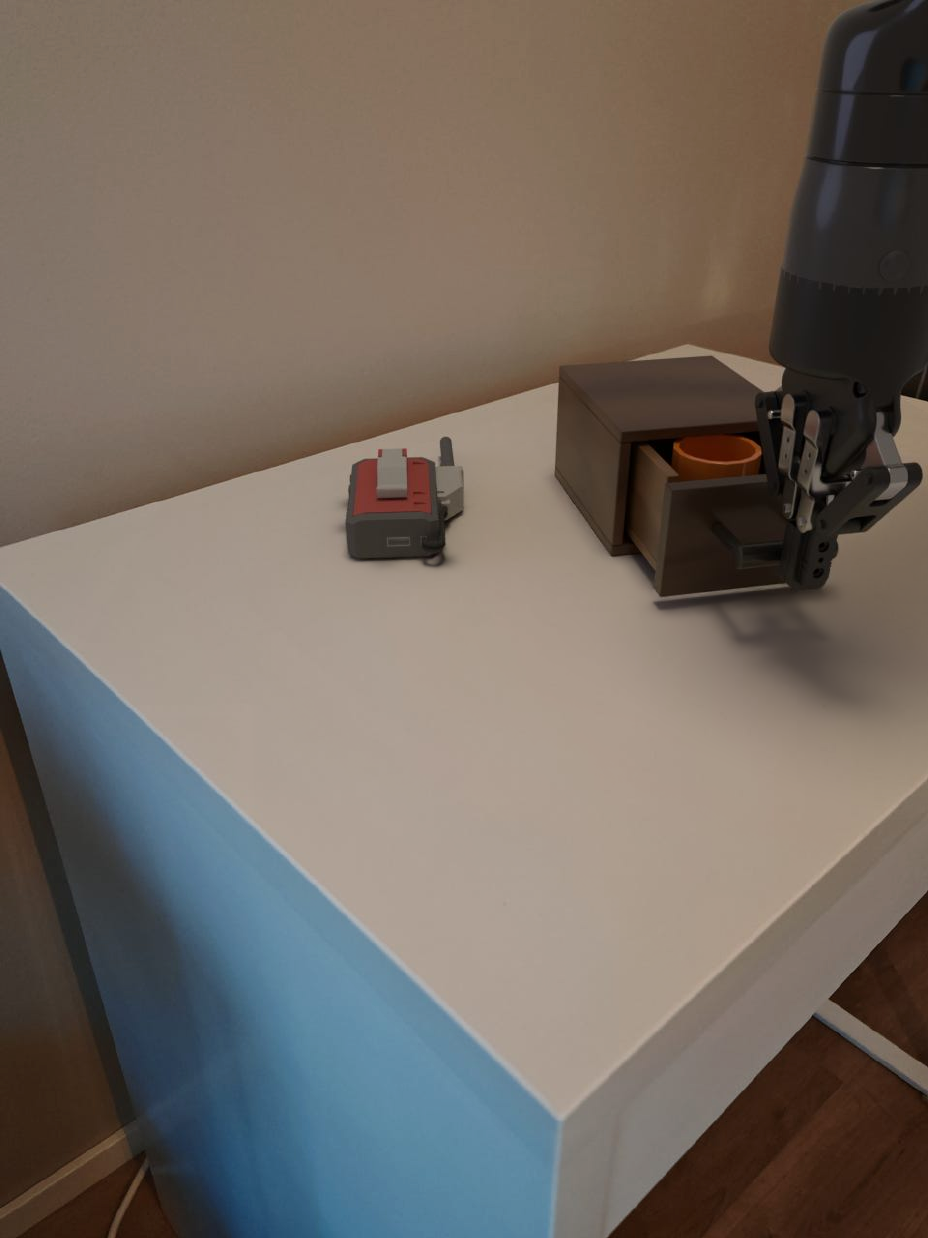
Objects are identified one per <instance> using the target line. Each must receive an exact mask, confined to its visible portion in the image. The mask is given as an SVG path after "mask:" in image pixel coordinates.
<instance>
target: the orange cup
mask: <svg viewBox="0 0 928 1238" xmlns="http://www.w3.org/2000/svg"><path fill="white" fill-rule="evenodd" d="M761 456H762V452H761V447H760V446H759V445H758V444H756V443H755V442H754V441H752V440H750V439H747V438H744V437H742V436H738V435H733V434H721V435H709V436H697V437H685V438H678V439H676V440H675V441H674V442H673V451H672V460H671V468H672V469H673V470H674V471H675V472H676V473H677V474H678V475H679V481H678V482H684V481H695V480H706V479H717V478H728V477H739V476H750V475H758V474H759V468H760V462H761Z"/></svg>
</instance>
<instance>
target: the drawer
mask: <svg viewBox="0 0 928 1238" xmlns="http://www.w3.org/2000/svg"><path fill="white" fill-rule="evenodd" d="M733 435H738V436H742V437H744V438H747V439H750V440H752V441H754V442H755V443H756V444H758V445H759V446H760V447H761V452H762V446H761V440H760V434H759V431H758V432H745V433H733ZM676 439H678V438H673V439H661V440H649V441H637V442H631V453H630V465H629V476H628V488H627V499H626V510H625V522H624V530H625V532H626V533H627V534H628V536H629V537H630V538H631V540H632V541H633V542H634V544H635V545H636V546H637V548H638V549H639V550H640V551H641V553H640V554H642V556H643V557H644V559H645V560H646V561H647V562H648V564H649V565H650V566H651V567H652V569H653V571H654V572H655V574H654V582H653V589H654V591H655V592H656V594H657V595H658V596H659V598H665V597H674V596H675V597H676V596H684V595H693V594H701V593H711V592H720V591H728V590H729V591H730V590H738V589H747V588H748V589H749V588H756V587H764V586H775V585H784V584H786V583H785V582H784V581H783V580H782V579H781V578H780V577H779V575H778V571H779V565H780V560H781V552H782V548H783V547H782V546H783V542H784V536H785V530H786V525H787V519H785V518H784V517H783V514H782V510H781V504H782V497H781V495H778V496H773V495H771V493H770V491H769V488H768V482H767V476H766V470H765V464H764V458H763V452H762V456H761V462H760V468H759V474H758V475H750V476H739V477H728V478H717V479H706V480H695V481H684V482H678V481H679V475H678V474H677V473H676V472H675V471H674V470H673V469H672V468H671V460H672V451H673V442H674V441H675V440H676ZM839 548H840V547H839V541H838V540H837V541H836V546H835V551H834V555H833V560H834V559H836V558H837V556H838V554H839Z"/></svg>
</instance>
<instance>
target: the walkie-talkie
mask: <svg viewBox="0 0 928 1238" xmlns="http://www.w3.org/2000/svg"><path fill="white" fill-rule="evenodd" d="M439 450H440V461H441V463H440V464H441V465H440V466H439V465H438V466H436V462H435V461H433V460H431V459H428V458H426V457H423V456H414V457H413V456H411V457H408V449H407V448H405V447H404V448H378V449H377V458H376V457H374V458H372V457H371V458H363V459H361V460H359V461H357V462H355V463H353V464H352V465H351V471H350V474H349V484H348V487H347V493H348V498H347V507H346V515H345V534H346V544H347V554H349V555H351V556H353V557H355V558H356V559H361V560H366V559H396V558H397V559H398V558H399V559H400V558H427V557H430V556H432V555H434V554H436V553H439V552H441V551H443V550H444V549H445V547H446V530H445V521H447V520H449V519H450V518H452V517H454V516H455V515H456V514H457V515H458V513H460V512H461V511H463V509H464V508H465V506H464V505H465V503H464V500H465V499H464V498H465V496H464V495H465V494H464V493H465V491H464V490H465V489H464V488H465V486H464V485H465V484H464V483H465V481H464V480H465V478H464V477H465V475H464V474H465V473H464V467H463V466H462V465H455V459H454V458H455V457H454V450H453V442H452V439H451V438H450V437H449V436H442V437H441V438H440V440H439Z"/></svg>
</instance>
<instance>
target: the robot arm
mask: <svg viewBox="0 0 928 1238" xmlns="http://www.w3.org/2000/svg"><path fill="white" fill-rule="evenodd" d="M817 70H818V71H817V75H816V80H815V81H816V82H815V86H814V87H815V89H814V93H813V100H812V105H811V106H812V107H811V112H810V118H809V125H808V131H807V138H806V144H805V149H804V153H805V156H804V157H803V161H802V164H801V165H802V166H801V170H800V173H799V176H798V180H797V184H796V187H795V191H794V193H793V198H792V201H791V205H790V210H789V215H788V221H787V228H786V232H785V233H786V234H785V238H784V239H785V240H784V246H783V252H782V257H781V258H782V259H781V265H780V271H779V276H778V277H779V278H778V285H777V290H776V296H775V301H774V309H773V315H772V322H771V327H770V333H769V340H768V351H769V354H770V356H771V358H772V359H773V360H774V361H775V362H776V363H777V364H778V365H780V366H781V367H783V368H784V370H783V372H782V376H781V386H779V387H778V388H777V389H776V390H775V389H774V390H771V391H764V392H759V393H758V394H757V395H756V397H755V410H756V416H757V422H758V428H759V434H760V440H761V446H762V452H763V458H764V464H765V470H766V476H767V482H768V488H769V491H770V493H771V495H773V496H778V495H781V497H782V504H781V510H782V514H783V517H784V518H785V519H787V525H786V530H785V536H784V542H783V546H782V547H783V548H782V552H781V560H780V565H779V571H778V575H779V577H780V578H781V579H782V580H783V581H784V582H785V583H784V584H785V585H786V586H787V587H788V588H790V590H791V591H794V592H801V591H802V592H803V591H811V590H818V589H821V588H822V587H824V586H825V585H826V584H827V581H828V580H829V578H830V574H831V568H832V563H833V560H834V559H833V555H834V551H835V546H836V541H837V542H838V537H839V536H841V535H850V534H851V535H852V534H860V533H866V532H868V531H869V530H870V529H872V528H873V527H874V526H875V525H876V524H878V522H879V521H880V520H882V519H883V518H885V516H887V514H889V513H890V512H891V511H893V509H894V508H895V507H897V506H898V505H899V504H900V503H901V502H902V501H904V500H905V499H906V498H907V497H908V496H910V495H911V494H912V493H913V492H914V491H916V489H918V488H919V487H920V485H921V484H922V483H923V482H922V481H923V478H924V477H923V476H924V473H923V468H922V466H921V464H919V463H918V462H916V461H914V462H913V461H912V462H903V461H902V458H901V455H900V453H899V450H898V447H897V444H896V442H895V439H894V438H895V437H896V436H897V434H898V432H899V430H900V427H901V423H902V410H901V397H902V389H903V388H904V386H905V385H906V384H907V383H908V381H910V380H911V379H912V378H913V377H914V376H916V375H918V374H920V373H921V372H922V371H923V370H924V369H925V368H926V367H927V365H928V0H868V1H866V2H862V3H859V4H857V5H854V6H851V7H849V8H847V9H845V10H844V11H842V12H841V13H840V14H838V15H837V17H835V19H833V21H832V23H831V24H830V26H829V28H828V30H827V33H826V35H825V37H824V41H823V44H822V48H821V52H820V58H819V64H818V69H817Z"/></svg>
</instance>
